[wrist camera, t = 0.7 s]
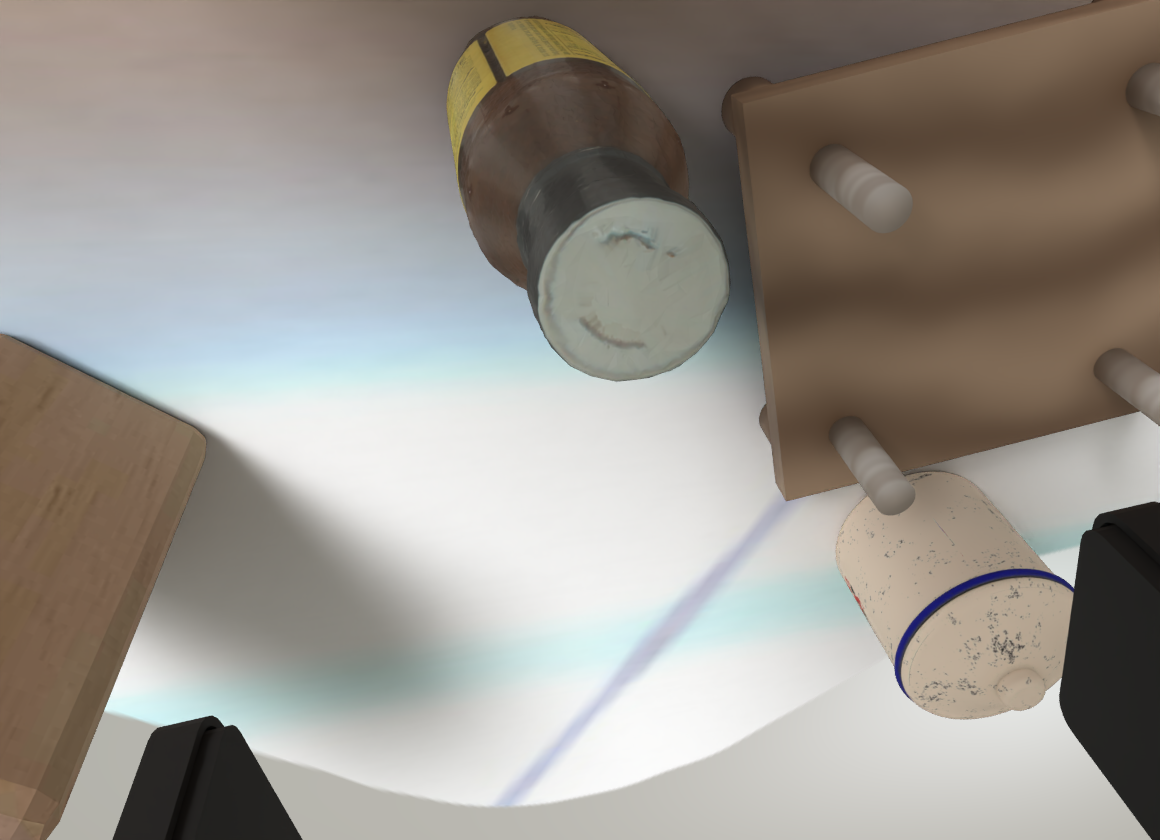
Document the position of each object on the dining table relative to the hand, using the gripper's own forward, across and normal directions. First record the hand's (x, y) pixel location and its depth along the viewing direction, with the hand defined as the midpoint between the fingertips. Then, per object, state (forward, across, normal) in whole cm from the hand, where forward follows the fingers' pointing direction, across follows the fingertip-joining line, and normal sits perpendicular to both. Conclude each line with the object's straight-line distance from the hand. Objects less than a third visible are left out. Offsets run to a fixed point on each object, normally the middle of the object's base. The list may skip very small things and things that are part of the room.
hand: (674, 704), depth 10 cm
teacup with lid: (+30, -18, +27) cm, 44 cm away
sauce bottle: (+30, -1, -1) cm, 30 cm away
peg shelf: (+30, -17, +9) cm, 35 cm away
